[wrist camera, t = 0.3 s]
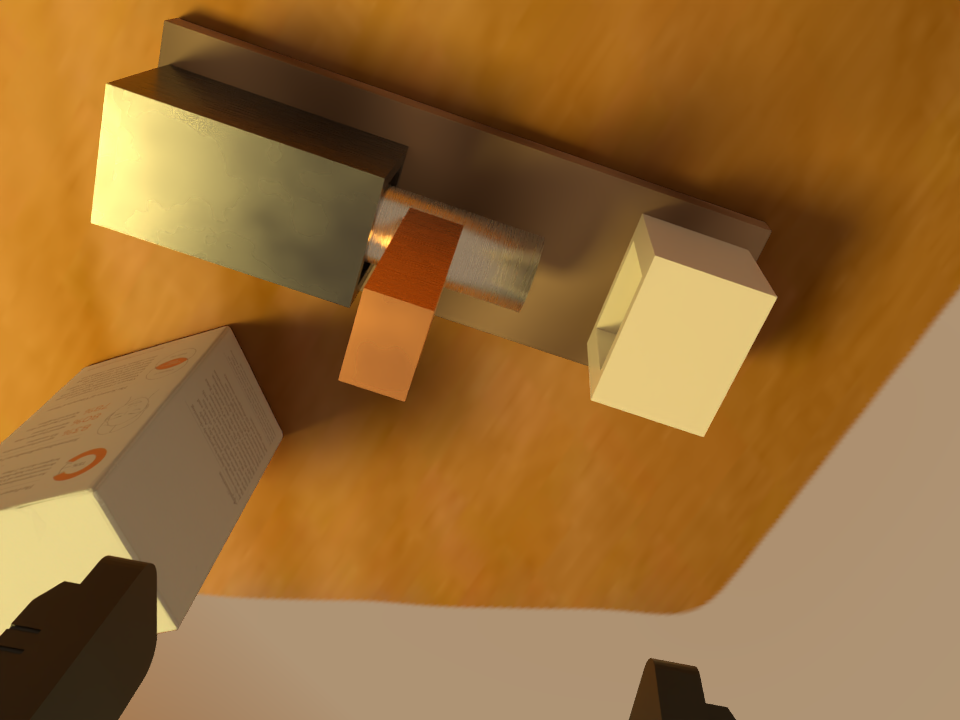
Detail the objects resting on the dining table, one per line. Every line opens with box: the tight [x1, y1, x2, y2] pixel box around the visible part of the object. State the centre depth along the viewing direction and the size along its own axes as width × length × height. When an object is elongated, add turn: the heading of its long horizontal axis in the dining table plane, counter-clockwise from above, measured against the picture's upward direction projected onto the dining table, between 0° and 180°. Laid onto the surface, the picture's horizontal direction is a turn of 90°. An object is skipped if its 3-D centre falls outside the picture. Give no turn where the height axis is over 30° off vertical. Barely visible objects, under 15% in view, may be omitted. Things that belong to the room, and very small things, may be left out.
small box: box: [0, 326, 283, 635], centre depth 35 cm, size 8×6×13 cm
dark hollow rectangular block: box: [91, 64, 409, 308], centre depth 31 cm, size 10×5×5 cm, turn 72°
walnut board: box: [158, 18, 772, 366], centre depth 35 cm, size 24×8×1 cm, turn 72°
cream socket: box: [587, 214, 777, 437], centre depth 32 cm, size 4×6×5 cm
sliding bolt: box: [338, 184, 544, 402], centre depth 28 cm, size 14×3×11 cm, turn 72°
